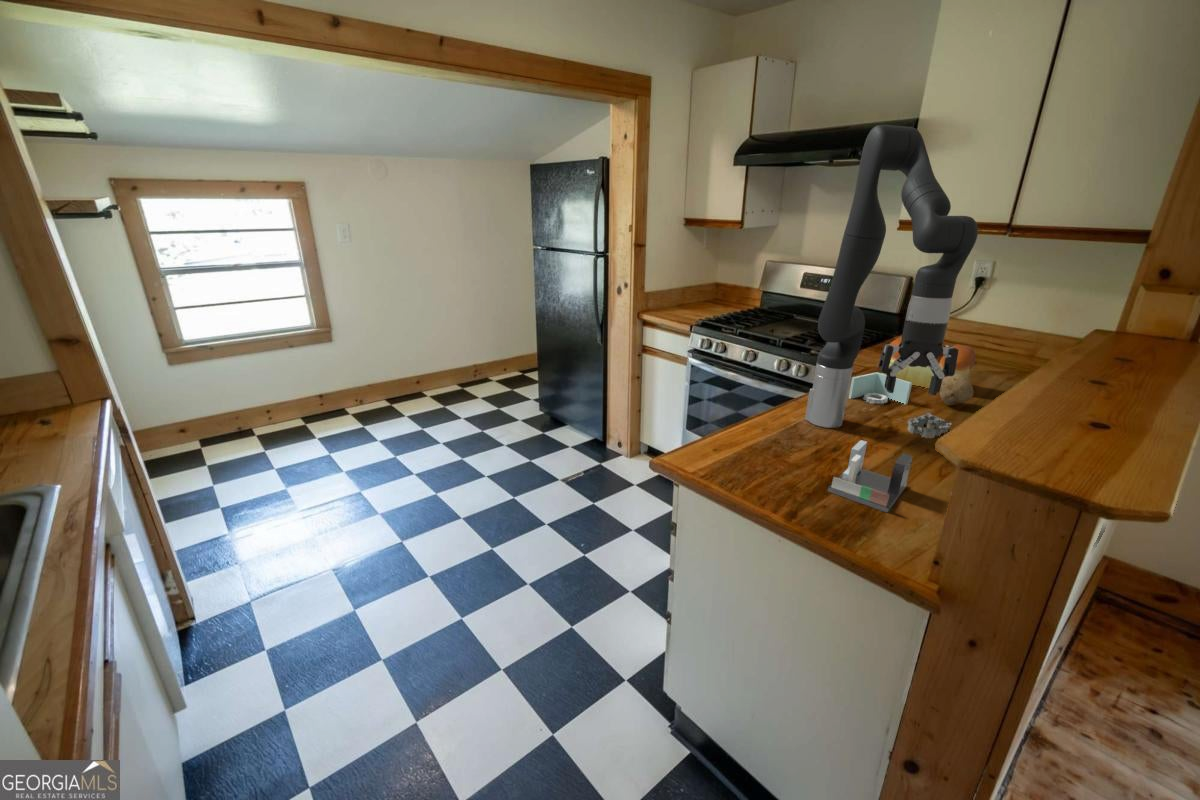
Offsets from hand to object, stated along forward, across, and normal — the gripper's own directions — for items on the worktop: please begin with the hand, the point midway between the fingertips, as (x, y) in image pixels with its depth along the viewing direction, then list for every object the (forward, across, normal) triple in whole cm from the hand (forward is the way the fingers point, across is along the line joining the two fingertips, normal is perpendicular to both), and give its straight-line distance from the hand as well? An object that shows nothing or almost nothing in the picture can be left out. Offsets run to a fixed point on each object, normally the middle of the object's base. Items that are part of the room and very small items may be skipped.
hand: (910, 393), depth 112 cm
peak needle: (+19, +12, +8) cm, 24 cm away
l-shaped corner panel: (+20, -13, -52) cm, 57 cm away
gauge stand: (+21, +7, +6) cm, 23 cm away
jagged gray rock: (+20, -19, -29) cm, 40 cm away
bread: (+19, -34, -73) cm, 83 cm away
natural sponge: (+19, -34, -51) cm, 65 cm away
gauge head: (+19, +10, +4) cm, 22 cm away
